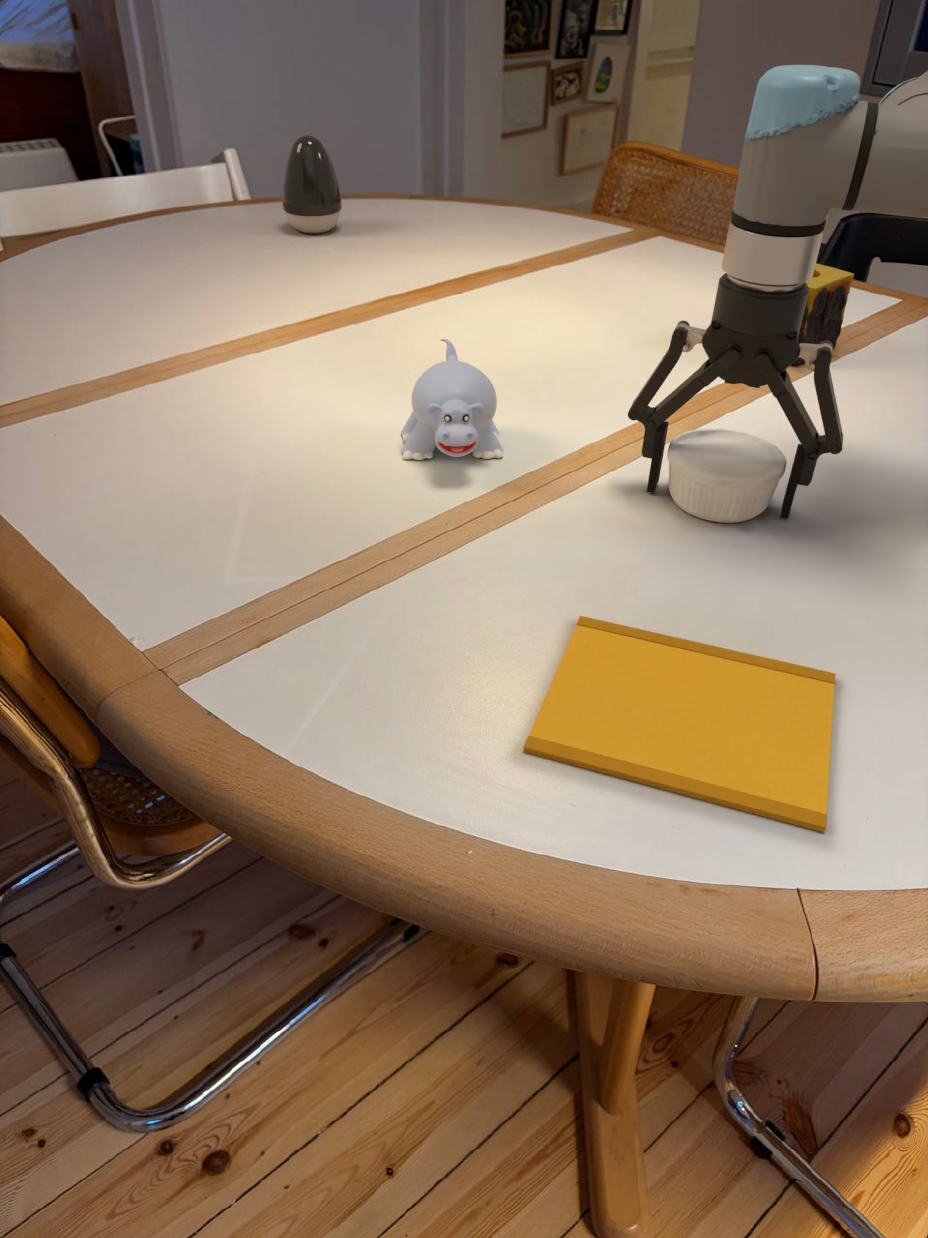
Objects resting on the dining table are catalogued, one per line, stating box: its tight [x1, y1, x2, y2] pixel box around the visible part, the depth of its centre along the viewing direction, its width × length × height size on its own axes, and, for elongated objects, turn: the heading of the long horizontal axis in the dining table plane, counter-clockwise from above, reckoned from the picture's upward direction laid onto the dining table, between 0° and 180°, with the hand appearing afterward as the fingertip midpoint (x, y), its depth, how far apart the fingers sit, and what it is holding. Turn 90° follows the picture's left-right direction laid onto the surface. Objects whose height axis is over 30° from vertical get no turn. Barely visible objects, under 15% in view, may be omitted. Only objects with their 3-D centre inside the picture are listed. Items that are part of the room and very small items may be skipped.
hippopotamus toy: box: [400, 338, 504, 461], centre depth 97 cm, size 11×15×10 cm
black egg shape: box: [282, 133, 343, 235], centre depth 161 cm, size 10×10×15 cm
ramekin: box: [667, 428, 787, 524], centre depth 91 cm, size 11×11×5 cm
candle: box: [791, 262, 855, 366], centre depth 122 cm, size 10×10×10 cm
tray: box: [522, 615, 837, 833], centre depth 68 cm, size 20×16×1 cm
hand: (717, 498), depth 92 cm, fingers open, 12 cm apart
